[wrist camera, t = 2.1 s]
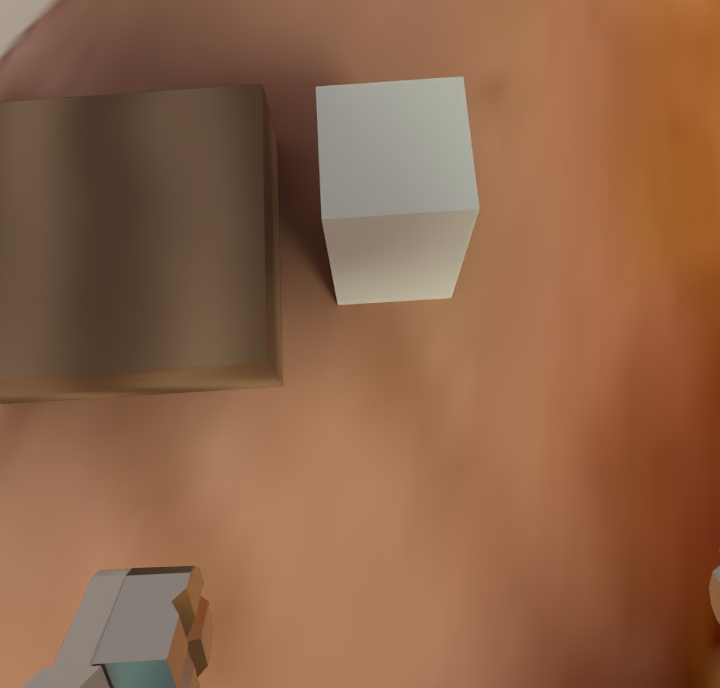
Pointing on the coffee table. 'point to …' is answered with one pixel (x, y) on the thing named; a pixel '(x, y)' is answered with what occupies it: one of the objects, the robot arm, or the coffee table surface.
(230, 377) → the walnut plinth
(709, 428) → the coffee table surface
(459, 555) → the coffee table surface
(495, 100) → the coffee table surface
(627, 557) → the coffee table surface
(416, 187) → the light grey block
